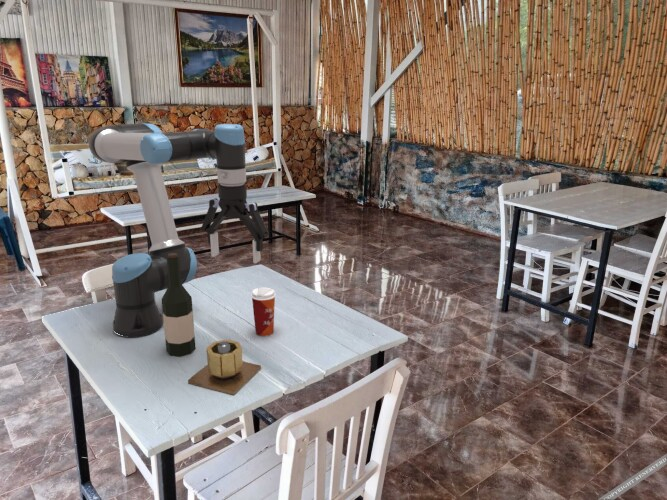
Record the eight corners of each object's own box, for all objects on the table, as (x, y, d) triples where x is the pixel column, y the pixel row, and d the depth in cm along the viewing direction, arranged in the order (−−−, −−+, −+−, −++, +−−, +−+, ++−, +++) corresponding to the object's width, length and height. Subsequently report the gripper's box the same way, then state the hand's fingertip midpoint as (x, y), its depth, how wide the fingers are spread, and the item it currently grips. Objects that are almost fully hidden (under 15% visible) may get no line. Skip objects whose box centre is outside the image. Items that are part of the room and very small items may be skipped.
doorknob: (188, 383, 139) (185, 351, 136) (218, 358, 151) (216, 328, 148) (233, 395, 134) (232, 362, 131) (261, 368, 146) (260, 338, 143)
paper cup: (272, 338, 163) (271, 297, 159) (248, 336, 165) (247, 295, 160) (279, 327, 170) (278, 287, 166) (257, 325, 172) (255, 285, 167)
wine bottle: (180, 359, 150) (171, 261, 141) (160, 352, 155) (150, 255, 145) (201, 348, 157) (194, 252, 148) (182, 340, 161) (173, 247, 152)
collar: (201, 372, 139) (200, 352, 138) (220, 357, 147) (219, 337, 145) (230, 379, 136) (229, 358, 134) (247, 363, 144) (247, 343, 142)
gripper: (184, 182, 142) (190, 256, 148) (266, 190, 133) (268, 268, 140) (201, 177, 148) (206, 249, 155) (280, 185, 140) (281, 260, 146)
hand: (235, 258), depth 147 cm, fingers open, 13 cm apart
